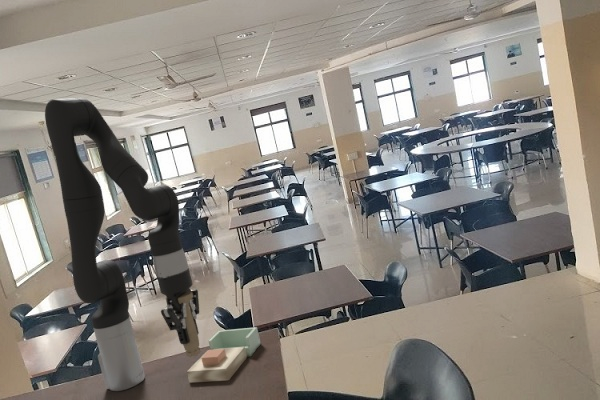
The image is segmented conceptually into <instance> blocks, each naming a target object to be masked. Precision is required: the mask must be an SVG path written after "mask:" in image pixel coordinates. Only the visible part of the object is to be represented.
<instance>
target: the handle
mask: <svg viewBox="0 0 600 400" xmlns="http://www.w3.org/2000/svg"><path fill="white" fill-rule="evenodd" d="M192 298H193V293H192V292H191V291H187V292H186V293H184V294H183V295H182V296H180V297H179V298H178V301H179V304H181V303H186V315H187V317H186V318H185V323H186V328H187V332H188V335H189V339H190V342H189V343H188V344H182V346H183V348H184V350H185V354H186V356H187V357H189V358H192V357H196V356H198V355H199V354H200V353H201V347H200V340H199V334H198V333H197V330H196V326H195V323H194V320H193V317H192V314H191V311H190V307H189V301H190V300H191V299H192ZM165 301H166V303H167V297H165ZM181 314H182V313H181ZM181 314H176V315H177V316H179V315H181ZM178 320H179V322H180V324H181V320H180V319H178Z"/></svg>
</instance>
